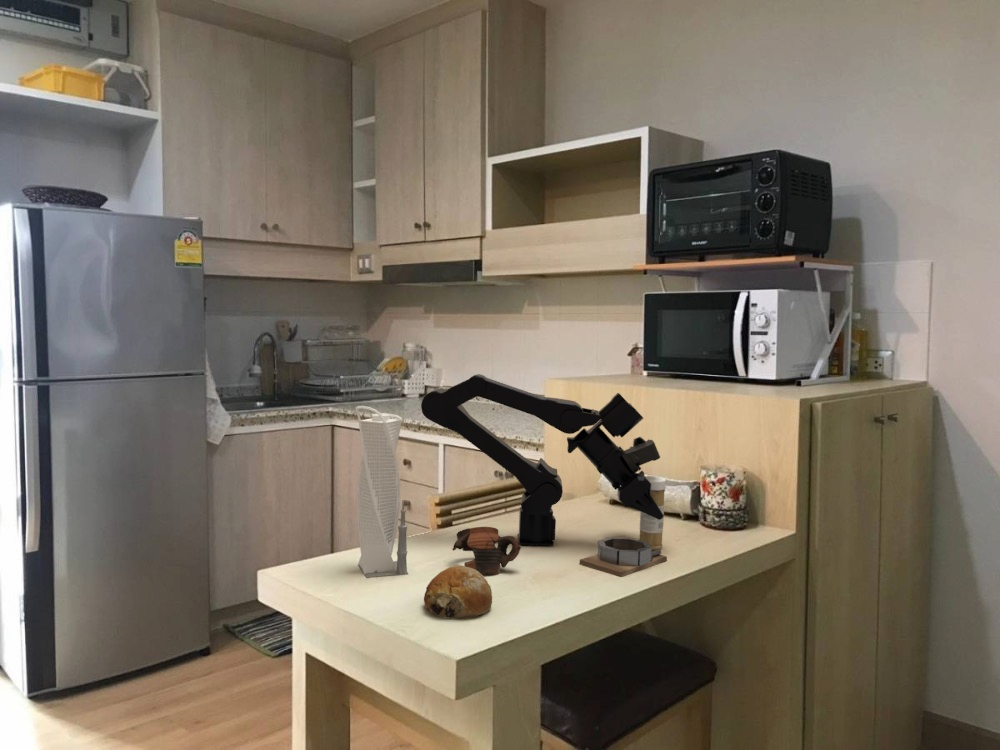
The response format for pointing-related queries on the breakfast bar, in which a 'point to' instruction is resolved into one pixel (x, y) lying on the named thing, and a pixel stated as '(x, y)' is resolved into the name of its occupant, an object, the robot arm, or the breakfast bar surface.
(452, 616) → the bread roll
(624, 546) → the collar
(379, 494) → the skyscraper
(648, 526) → the sprinkles bottle
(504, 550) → the pottery mug
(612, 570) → the walnut board
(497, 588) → the breakfast bar surface
